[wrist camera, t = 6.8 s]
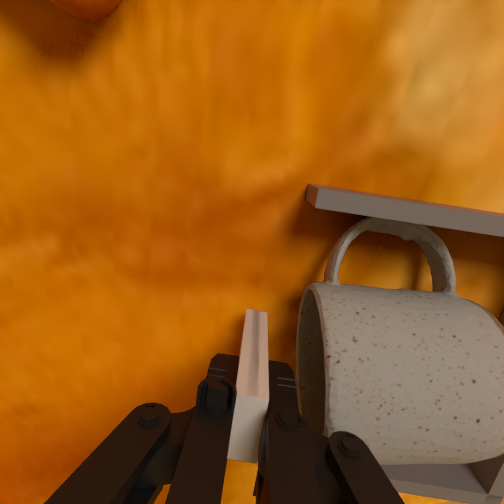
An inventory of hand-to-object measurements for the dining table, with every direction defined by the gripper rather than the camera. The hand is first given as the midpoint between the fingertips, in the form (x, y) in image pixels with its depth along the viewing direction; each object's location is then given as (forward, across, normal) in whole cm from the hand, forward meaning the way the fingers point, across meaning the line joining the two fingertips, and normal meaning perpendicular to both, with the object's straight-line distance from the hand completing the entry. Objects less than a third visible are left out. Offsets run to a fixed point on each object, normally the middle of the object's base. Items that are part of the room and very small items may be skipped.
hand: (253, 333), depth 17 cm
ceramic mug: (+2, +6, +2) cm, 7 cm away
